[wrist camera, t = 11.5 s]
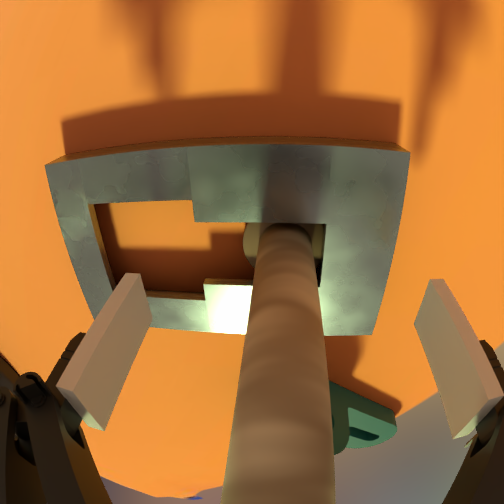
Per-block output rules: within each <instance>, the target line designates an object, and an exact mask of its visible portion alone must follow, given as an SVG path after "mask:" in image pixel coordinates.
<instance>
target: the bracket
mask: <svg viewBox="0 0 504 504" xmlns="http://www.w3.org/2000/svg"><path fill="white" fill-rule="evenodd" d="M329 391H330V403H331V417H332V432H333V449H334V455H336V454H338V453H340V452H341V451H343V450H344V449H345V447H346V448H364V447H370V446H374V445H377V444H380V443H382V442H384V441H386V440H388V439H390V438H391V437H392V436H394V435H395V433H396V432H397V426H396V421H395V416H394V412H393V411H392V410H391V409H389V408H386V407H384V406H382V405H380V404H378V403H375V402H373V401H371V400H369V399H367V398H365V397H363V396H360V395H358V394H356V393H354V392H352V391H350V390H348V389H346V388H344V387H342V386H340V385H338V384H336V383H334V382H332V381H330V380H329Z"/></svg>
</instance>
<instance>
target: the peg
mask: <svg viewBox="0 0 504 504" xmlns="http://www.w3.org/2000/svg"><path fill="white" fill-rule="evenodd" d="M323 238H324V226H323V224H317V223H263V222H247V225H246V228H245V232H244V237H243V250H244V253H245V256H246V258H247V260H248V261H249V263H250V264H251V265H252V266H253V267H254V268H255V272H254V279H253V286H252V293H251V300H250V307H249V314H248V321H247V328H246V335H245V342H244V349H243V356H242V363H241V370H240V376H239V383H238V390H237V397H236V404H235V410H234V417H233V424H232V431H231V437H230V444H229V451H228V457H227V464H226V471H225V477H224V484H223V490H222V497H221V503H220V504H335V471H334V449H333V432H332V417H331V403H330V391H329V380H328V369H327V359H326V349H325V340H324V332H323V323H322V315H321V307H320V299H319V292H318V284H317V277H316V270H315V268H316V267H317V266H318V265H319V264H320V263H321V259H322V249H323Z"/></svg>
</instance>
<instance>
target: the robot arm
mask: <svg viewBox="0 0 504 504" xmlns="http://www.w3.org/2000/svg"><path fill="white" fill-rule="evenodd" d="M152 319H153V317H152V314H151V310H150V307H149V304H148V300H147V297H146V293H145V290H144V286H143V282H142V279H141V275H140V274H138V273H125V275H124V276H123V278H122V279H121V281H120V282H119V283H118V285H117V286H116V288H115V289H114V291H113V292H112V294H111V295H110V297H109V298H108V300H107V302H106V303H105V305H104V306H103V308H102V309H101V311H100V312H99V314H98V315H97V317H96V319H95V320H94V322H93V323H92V325H91V327H90V328H89V330H88V331H87V333H81V332H80V333H78V334H77V335H76V336H75V337H74V338H73V339H72V340H71V341H70V342H69V344H68V345H67V347H66V349H65V351H64V352H63V354H62V355H61V359H59V360H58V362H57V364H56V365H55V367H54V369H53V370H52V372H51V374H50V375H49V377H48V379H47V381H46V382H44V381H43V380H42V378H41V377H40V376H39V375H38V374H37V373H35V372H27V373H24V374H23V375H21V376H20V377H19V375H18V374H17V373H16V372H15V371H14V370H13V369H12V368H11V367H10V366H9V365H8V364H7V363H6V362H5V361H4V360H3V359H2V358H1V357H0V504H112V502H111V500H110V498H109V495H108V493H107V491H106V489H105V487H104V484H103V482H102V480H101V478H100V475H99V473H98V470H97V468H96V465H95V463H94V460H93V458H92V455H91V453H90V450H89V447H88V444H87V442H86V439H85V436H84V433H83V430H82V428H81V426H80V423H81V421H82V419H83V421H84V422H85V423H86V424H87V425H88V426H89V427H92V428H96V429H99V430H102V431H105V429H106V426H107V424H108V421H109V419H110V416H111V414H112V411H113V409H114V406H115V404H116V401H117V399H118V396H119V394H120V392H121V389H122V387H123V385H124V382H125V380H126V377H127V375H128V373H129V371H130V368H131V366H132V364H133V361H134V359H135V357H136V355H137V352H138V350H139V348H140V346H141V343H142V341H143V339H144V337H145V335H146V332H147V330H148V328H149V326H150V324H151V322H152ZM414 325H415V328H416V330H417V333H418V335H419V338H420V340H421V343H422V346H423V348H424V351H425V354H426V356H427V359H428V362H429V364H430V367H431V370H432V373H433V376H434V379H435V382H436V385H437V388H438V391H439V394H440V397H441V400H442V403H443V407H444V410H445V413H446V417H447V420H448V424H449V427H450V431H451V434H452V438H453V439H455V438H458V437H462V436H466V435H468V434H469V433H470V432H471V431H472V430H473V429H474V428H475V427H476V431H477V434H476V435H475V436H474V437H473V438H472V439H471V440H470V441H468V442H467V444H466V445H465V447H468V446H469V445H470V444H471V446H470V448H469V450H468V453H467V455H466V457H465V459H464V462H463V464H462V466H461V468H460V470H459V472H458V474H457V476H456V478H455V480H454V482H453V484H452V486H451V488H450V490H449V492H448V494H447V496H446V498H445V499H444V501H443V503H442V504H504V370H503V368H502V367H501V364H500V363H499V360H497V356H496V354H495V352H494V350H493V348H492V347H491V346H490V345H489V344H488V343H487V342H486V341H485V340H480V341H479V340H478V338H477V336H476V334H475V333H474V331H473V329H472V327H471V325H470V323H469V321H468V320H467V318H466V316H465V314H464V313H463V311H462V309H461V307H460V306H459V304H458V302H457V301H456V299H455V297H454V296H453V294H452V292H451V291H450V289H449V287H448V286H447V284H446V283H445V281H444V279H430V280H429V283H428V286H427V289H426V292H425V295H424V298H423V301H422V304H421V306H420V309H419V312H418V314H417V317H416V320H415V322H414Z"/></svg>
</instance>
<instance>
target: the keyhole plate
mask: <svg viewBox="0 0 504 504" xmlns="http://www.w3.org/2000/svg"><path fill="white" fill-rule="evenodd" d="M409 160H410V152H409V151H407V150H405V149H404V148H402V147H401V146H399V145H397V144H396V143H387V142H378V141H367V140H354V139H340V138H322V137H291V136H247V137H216V138H198V139H183V140H171V141H160V142H150V143H141V144H132V145H124V146H117V147H110V148H103V149H96V150H90V151H84V152H78V153H73V154H67V155H64V156H62V157H60V158H58V159H56V160H54V161H52V162H50V163H48V164H46V165H45V169H46V174H47V178H48V183H49V187H50V191H51V195H52V199H53V203H54V207H55V210H56V214H57V218H58V221H59V225H60V228H61V231H62V235H63V238H64V241H65V244H66V247H67V250H68V253H69V256H70V259H71V262H72V265H73V268H74V270H75V273H76V276H77V279H78V281H79V284H80V286H81V289H82V292H83V294H84V297H85V299H86V302H87V304H88V306H89V309H90V311H91V313H92V316H93V318H94V320H95V319H96V317H97V315H98V314H99V312H100V311H101V309H102V308H103V306H104V305H105V303H106V302H107V300H108V298H109V297H110V295H111V294H112V292H113V291H114V289H115V288H116V283H115V280H114V277H113V273H112V270H111V267H110V264H109V260H108V257H107V253H106V250H105V246H104V243H103V239H102V235H101V232H100V228H99V224H98V220H97V216H96V212H95V207H94V204H101V203H119V202H140V201H167V200H192V202H193V211H194V219H195V222H263V223H317V224H325V227H324V238H323V249H322V259H321V269H320V278H319V281H317V284H318V292H319V299H320V307H321V315H322V323H323V332H324V336H344V335H372V332H373V329H374V326H375V323H376V319H377V316H378V312H379V309H380V305H381V302H382V298H383V294H384V291H385V287H386V283H387V279H388V275H389V271H390V267H391V263H392V258H393V254H394V249H395V245H396V240H397V235H398V230H399V225H400V219H401V214H402V208H403V202H404V196H405V190H406V183H407V176H408V168H409ZM203 286H204V292H205V293H201V292H181V291H164V290H148V289H144V290H145V293H146V297H147V300H148V304H149V307H150V310H151V314H152V317H153V319H152V322H151V324H150V326H149V327H156V328H166V329H177V330H188V331H201V332H216V333H233V334H246V328H247V321H248V314H249V307H250V300H251V293H252V286H253V280H243V279H212V278H205V281H204V284H203Z"/></svg>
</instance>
